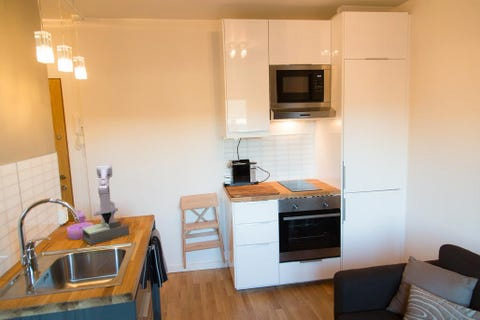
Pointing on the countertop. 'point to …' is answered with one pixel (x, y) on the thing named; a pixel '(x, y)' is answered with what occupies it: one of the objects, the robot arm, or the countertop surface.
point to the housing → (107, 233)
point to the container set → (78, 227)
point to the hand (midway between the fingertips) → (107, 224)
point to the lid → (96, 228)
